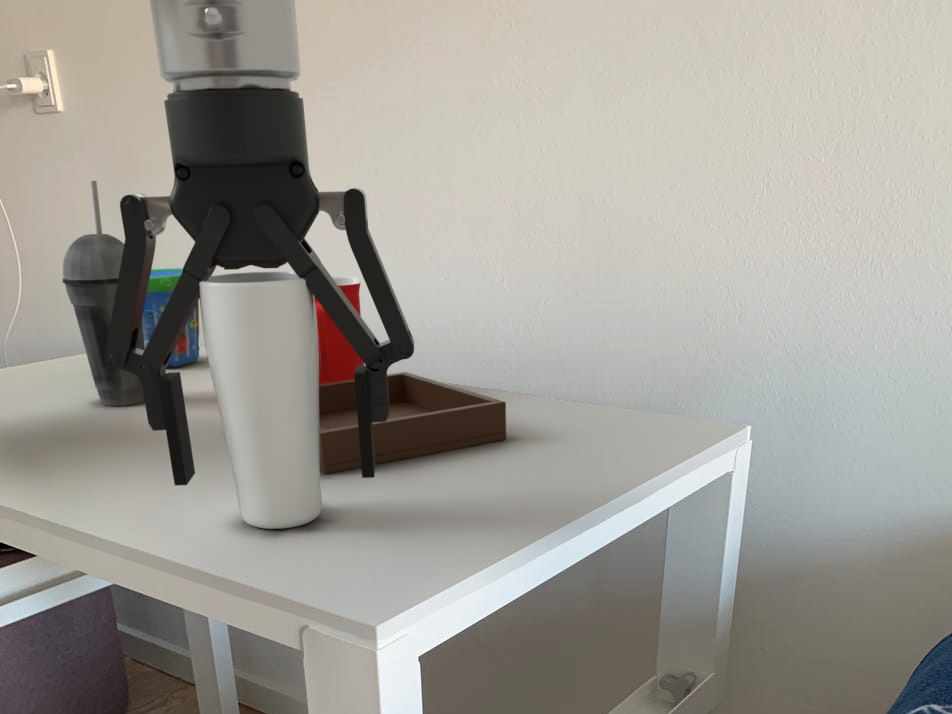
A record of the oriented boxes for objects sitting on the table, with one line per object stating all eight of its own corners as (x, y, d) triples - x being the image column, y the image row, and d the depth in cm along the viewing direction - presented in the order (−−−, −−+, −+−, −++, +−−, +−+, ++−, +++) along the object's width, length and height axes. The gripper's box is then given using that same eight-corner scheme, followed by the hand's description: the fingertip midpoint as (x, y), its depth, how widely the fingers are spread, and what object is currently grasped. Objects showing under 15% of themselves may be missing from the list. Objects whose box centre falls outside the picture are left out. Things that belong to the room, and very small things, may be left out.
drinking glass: (354, 511, 67) (335, 272, 60) (288, 542, 62) (259, 285, 55) (277, 497, 70) (251, 269, 63) (207, 525, 65) (171, 280, 58)
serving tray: (242, 431, 87) (237, 396, 86) (407, 404, 96) (405, 371, 94) (324, 474, 75) (320, 433, 74) (506, 439, 83) (506, 401, 82)
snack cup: (83, 372, 115) (65, 278, 110) (121, 356, 124) (105, 269, 120) (216, 371, 113) (203, 276, 109) (244, 355, 123) (233, 266, 118)
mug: (285, 386, 105) (274, 278, 100) (364, 381, 106) (356, 275, 101) (284, 411, 94) (271, 292, 90) (372, 406, 95) (363, 288, 91)
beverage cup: (70, 407, 98) (25, 182, 89) (112, 392, 104) (74, 180, 95) (137, 410, 96) (98, 181, 87) (175, 394, 102) (142, 179, 94)
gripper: (-11, 88, 51) (74, 500, 61) (448, 78, 52) (462, 485, 62) (38, 97, 58) (108, 466, 67) (444, 87, 59) (457, 453, 68)
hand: (277, 475), depth 65 cm, fingers open, 11 cm apart
